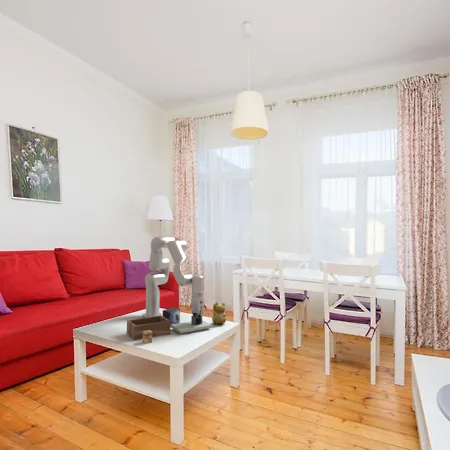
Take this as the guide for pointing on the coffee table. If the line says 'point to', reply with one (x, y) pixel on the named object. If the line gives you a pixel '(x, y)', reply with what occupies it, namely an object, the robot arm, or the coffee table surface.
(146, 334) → the wooden block
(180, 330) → the lid
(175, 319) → the small box
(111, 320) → the coffee table surface
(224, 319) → the decorative figurine
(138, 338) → the open brown wooden box
